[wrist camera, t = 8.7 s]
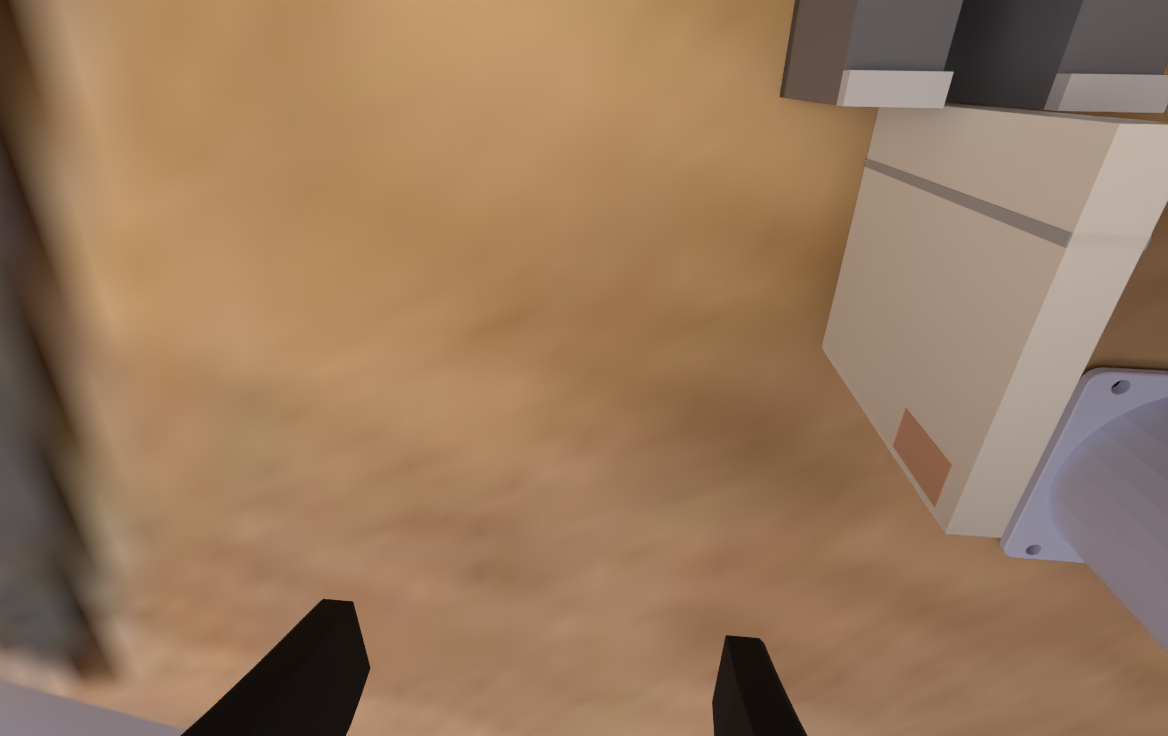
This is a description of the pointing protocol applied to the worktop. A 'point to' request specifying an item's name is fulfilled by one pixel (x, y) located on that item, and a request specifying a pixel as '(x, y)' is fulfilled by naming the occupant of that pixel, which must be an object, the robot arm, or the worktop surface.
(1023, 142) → the beige flat plate
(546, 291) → the worktop surface
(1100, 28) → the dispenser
